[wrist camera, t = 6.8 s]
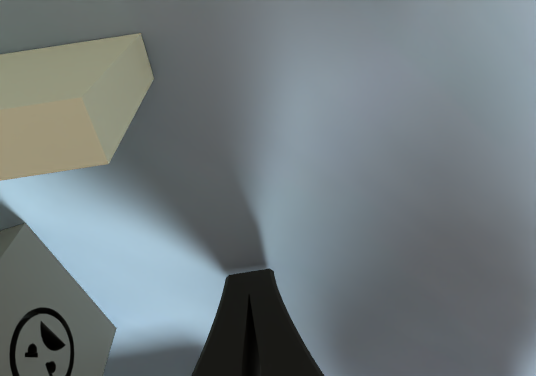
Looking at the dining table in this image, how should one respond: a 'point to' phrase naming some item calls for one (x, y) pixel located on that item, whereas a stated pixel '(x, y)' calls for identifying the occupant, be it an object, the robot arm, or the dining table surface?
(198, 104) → the dining table surface
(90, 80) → the bin
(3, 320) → the beige symbol cube
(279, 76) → the dining table surface
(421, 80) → the dining table surface
